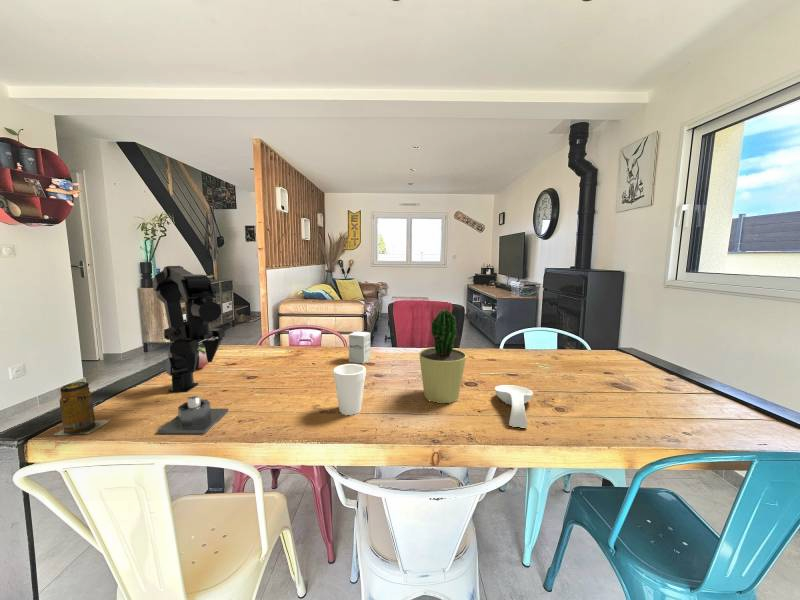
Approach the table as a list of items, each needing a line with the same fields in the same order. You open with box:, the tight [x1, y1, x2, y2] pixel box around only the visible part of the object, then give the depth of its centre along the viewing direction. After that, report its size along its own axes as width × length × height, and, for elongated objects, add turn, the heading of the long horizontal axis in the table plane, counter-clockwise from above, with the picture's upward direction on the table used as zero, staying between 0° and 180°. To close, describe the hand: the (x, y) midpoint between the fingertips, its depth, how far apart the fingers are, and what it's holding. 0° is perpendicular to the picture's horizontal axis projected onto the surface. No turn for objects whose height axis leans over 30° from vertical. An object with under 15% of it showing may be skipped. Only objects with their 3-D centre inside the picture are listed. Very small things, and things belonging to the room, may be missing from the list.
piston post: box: [157, 395, 229, 435], centre depth 89 cm, size 12×12×7 cm
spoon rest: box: [494, 384, 534, 429], centre depth 99 cm, size 24×12×7 cm, turn 166°
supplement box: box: [348, 331, 371, 365], centre depth 142 cm, size 7×7×13 cm
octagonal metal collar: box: [177, 398, 211, 425], centre depth 89 cm, size 7×7×4 cm
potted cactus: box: [418, 309, 467, 404], centre depth 106 cm, size 15×15×30 cm
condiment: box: [53, 381, 111, 436], centre depth 85 cm, size 7×8×12 cm
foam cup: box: [333, 363, 367, 416], centre depth 96 cm, size 10×9×13 cm
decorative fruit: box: [198, 346, 210, 370], centre depth 130 cm, size 9×8×10 cm
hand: (201, 367), depth 99 cm, fingers open, 9 cm apart
